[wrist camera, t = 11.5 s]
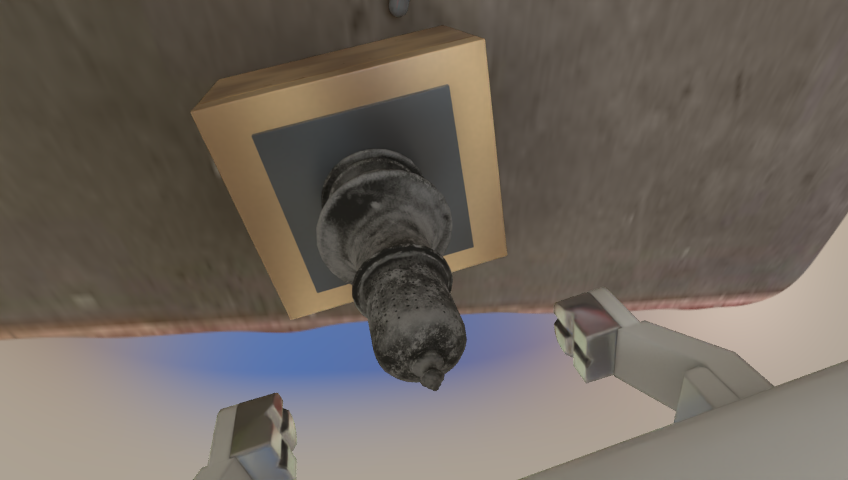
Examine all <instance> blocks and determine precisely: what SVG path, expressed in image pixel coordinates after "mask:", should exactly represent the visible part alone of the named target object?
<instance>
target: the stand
mask: <svg viewBox="0 0 848 480" xmlns="http://www.w3.org/2000/svg"><path fill="white" fill-rule="evenodd" d="M191 115H192V117H193V119H194V121H195V123H196V125H197V127H198V129H199V132H200V134H201V136H202V138H203V140H204V142H205V144H206V146H207V148H208V150H209V152H210V154H211V156H212V158H213V160H214V163H215V165H216V167H217V169H218V171H219V173H220V175H221V177H222V179H223V181H224V183H225V185H226V187H227V189H228V191H229V193H230V196H231V198H232V200H233V202H234V204H235V206H236V208H237V210H238V212H239V214H240V216H241V218H242V220H243V222H244V224H245V226H246V229H247V231H248V233H249V235H250V237H251V239H252V241H253V243H254V245H255V247H256V249H257V251H258V253H259V255H260V257H261V260H262V262H263V264H264V266H265V268H266V270H267V272H268V274H269V276H270V278H271V280H272V282H273V284H274V286H275V288H276V290H277V293H278V295H279V297H280V299H281V301H282V303H283V305H284V307H285V309H286V311H287V313H288V315H289V317H290V319H291V320H293V319H297V318H300V317H303V316H307V315H310V314H313V313H317V312H320V311H323V310H327V309H330V308H334V307H337V306H340V305H344V304H347V303H350V302H354V300H353V297H352V285H351V284H348V283H346V282H344V281H342V280H341V279H340V278H338V277H337V276H336V275H335V274H333V273H332V272H331V271H330V270H329V268H328V267H327V266H326V264H325V263H324V262H323V260H322V258H321V255H320V252H319V250H318V247H317V234H316V227H317V223H318V220H319V216H320V213H321V210H322V207H321V193H322V189H323V185H324V182H325V180H326V178H327V176H328V175H329V173H330V171H331V170H332V168H334V167H335V166H336V165H337V164H338V163H339V162H340V161H341V160H342V159H344V158H345V157H347V156H349V155H351V154H353V153H355V152H358V151H362V150H366V149H370V148H371V149H388V150H391V151H395V152H398V153H400V154H402V155H404V156H405V157H407V158H408V159H410V160H411V161H412V162H413V163H414V164H415V165H416V166H417V167H418V168H419V169H420V171H421V173H422V175H423V177H424V179H426V180H428V181H429V182H431V183H432V184H433V185H434V186H435V187H436V188H437V189H438V190H439V191H440V192H441V193H442V194H443V196H444V198H445V200H446V202H447V204H448V206H449V208H450V210H451V217H452V224H453V227H452V233H451V240H450V243H449V245H448V247H447V250H446V252H445V254H444V256H443V257H444V258H445V260H446V261H447V263H448V265H449V267H450V269H451V272H454V271H457V270H461V269H464V268H467V267H471V266H474V265H477V264H481V263H484V262H487V261H491V260H494V259H497V258H501V257H504V256H507V248H506V239H505V229H504V219H503V210H502V200H501V190H500V181H499V171H498V161H497V151H496V142H495V132H494V122H493V113H492V103H491V93H490V84H489V74H488V64H487V55H486V45H485V39H483V38H480V37H477V36H474V35H471V34H468V33H465V32H462V31H459V30H456V29H453V28H450V27H447V26H444V25H441V26H437V27H433V28H429V29H424V30H420V31H416V32H412V33H408V34H404V35H400V36H396V37H392V38H387V39H383V40H379V41H375V42H371V43H367V44H363V45H359V46H354V47H350V48H346V49H342V50H338V51H334V52H330V53H326V54H322V55H317V56H313V57H309V58H305V59H301V60H297V61H293V62H289V63H285V64H280V65H276V66H272V67H268V68H264V69H260V70H256V71H252V72H248V73H243V74H239V75H235V76H231V77H227V78H223V79H219V80H218V81H217V82H216V83H215V84H214V86H213V87H212V88H211V89H210V90H209V91H208V92H207V94H206V95H205V96H204V97H203V98H202V99H201V101H200V102H199V103H198V104H197V105H196V106H195V107H194V108H193V110H192V111H191Z"/></svg>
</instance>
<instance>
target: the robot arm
mask: <svg viewBox="0 0 848 480" xmlns="http://www.w3.org/2000/svg"><path fill="white" fill-rule="evenodd" d="M554 314H555V315H556V316H557V318H558V319H557V320H556V322H555V323H554V327H555V334H556V337H557V341H558V343H559V345H560V347H561V349H562V350H563V351H564V353H565V354H566V355H568V356H570V357H573V358H574V360H573V363H574V367H575V368H576V370H577V371H578V373H579V374H580V376H581V377H582V378H583V380H584V381H585V382H586V383H589V382H592V381H595V380H599V379H602V378H605V377H608V376H611V375H614V376H615V377H616V378H618V379H620V380H622V381H624V382H625V383H627V384H629V385H631V386H632V387H634V388H636V389H638V390H639V391H641V392H643V393H645V394H647V395H648V396H650V397H652V398H654V399H655V400H657V401H659V402H661V403H662V404H664V405H666V406H668V407H670V408H671V409H673V410H675V411H676V414H675V419H674V423H673V424H670V425H668V426H665V427H662V428H659V429H656V430H654V431H651V432H648V433H645V434H643V435H640V436H637V437H634V438H632V439H629V440H626V441H623V442H620V443H618V444H615V445H612V446H609V447H607V448H604V449H601V450H598V451H596V452H593V453H590V454H587V455H585V456H582V457H579V458H576V459H574V460H571V461H568V462H566V463H563V464H560V465H557V466H554V467H551V468H549V469H546V470H543V471H541V472H538V473H535V474H532V475H530V476H527V477H524V478H521V479H518V480H848V360H847V361H844V362H841V363H838V364H836V365H833V366H830V367H828V368H825V369H822V370H819V371H817V372H814V373H811V374H808V375H805V376H803V377H800V378H797V379H794V380H792V381H789V382H786V383H783V384H781V385H778V386H773V385H772V384H771V383H770V382H769V381H768V380H767V379H765V378H764V377H763V376H762V375H761V374H760V373H758V372H757V371H756V370H755V369H754V368H753V367H751V366H750V365H749V364H748V363H747V362H746V361H745V360H743V359H742V358H741V357H740V356H739V355H738V354H736V353H735V352H733V351H730V350H727V349H724V348H721V347H719V346H716V345H713V344H710V343H707V342H704V341H701V340H699V339H696V338H693V337H690V336H687V335H685V334H682V333H679V332H676V331H673V330H670V329H668V328H665V327H662V326H659V325H656V324H653V323H650V322H648V321H642V322H640V321H639V320H638V319H637V318H636V317H635V316H634V315H633V314H632V313H631V312H630V311H629V310H628V309H627V308H626V307H625V306H624V305H623V304H622V303H621V302H620V301H619V300H618V299H617V298H616V297H615V296H614V295H613V294H612V293H611V292H610V291H609V290H608V289H607V288H604V287H601V288H598V289H595V290H592V291H589V292H587V293H582V294H579V295H576V296H573V297H570V298H567V299H564V300H561V301H558V302H555V304H554ZM296 438H297V437H296V429H295V423H294V421H293V418H292V416H291V414H290V412H289V410H286V409H284V408H283V400H282V398H281V397H280V395H279V394H278V393H273V394H270V395H267V396H263V397H260V398H256V399H253V400H249V401H246V402H243V403H240V404H237V405H234V406H230V407H227V408H223V409H221V410H220V411H219V413H218V415H217V419H216V425H215V430H214V434H213V440H212V445H211V450H210V455H209V460H208V466H206V467H203V468H202V469H201V470H200V471H199V472H198V474H197V475H196V476H195V478H194V479H193V480H296V458H295V456H294V455H293V453H292V451H293V449H294V448H295V446H296V444H297V439H296Z"/></svg>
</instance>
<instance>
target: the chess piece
mask: <svg viewBox="0 0 848 480" xmlns="http://www.w3.org/2000/svg"><path fill="white" fill-rule="evenodd" d="M321 207H322V210H321V213H320V216H319V220H318V223H317V227H316V234H317V247H318V250H319V252H320V255H321V258H322V260H323V262H324V263H325V264H326V266H327V267H328V268H329V270H330V271H331V272H332V273H333V274H335V275H336V276H337V277H338V278H340V279H341V280H342V281H344V282H346V283H348V284H351V285H352V297H353V300H354V303H355V306H356V307H357V309H358V310H359V311H360V313H361V314H362V315H363V316H365V317H366V318H368V323H369V328H370V334H371V339H372V345H373V350H374V353H375V356H376V359H377V361H378V363H379V365H380V366H381V367H382V368H383V370H384V371H385V372H387V373H389V374H390V375H391V376H393V377H395V378H397V379H400V380H403V381H406V382H420V383H421V384H422V386H425V387H427V388H428V389H432V390H433V391H437V390H438V389H439V386H440V385H441V382H442V381H443V380H444V374H446V373H447V372H448V371H450V370H451V369H452V368H453V367H454V366H455V365H456V364H457V363H458V361H459V359H460V358H461V356H462V354H463V352H464V350H465V346H466V340H467V339H466V332H465V325H464V323H463V321H462V318H461V316H460V314H459V312H458V310H457V307H456V305H455V303H454V301H453V299H452V297H451V294H450V292H451V288H452V281H453V279H452V273H451V269H450V267H449V265H448V263H447V261H446V260H445V258H444V257H443V256H444V254H445V252H446V250H447V247H448V245H449V243H450V240H451V233H452V227H453V224H452V217H451V210H450V208H449V206H448V204H447V202H446V200H445V198H444V196H443V194H442V193H441V192H440V191H439V190H438V189H437V188H436V187H435V186H434V185H433V184H432V183H431V182H429V181H428V180H426V179H424V177H423V175H422V173H421V171H420V169H419V168H418V167H417V166H416V165H415V164H414V163H413V162H412V161H411V160H410V159H408V158H407V157H405V156H404V155H402V154H400V153H398V152H395V151H391V150H388V149H371V148H370V149H366V150H362V151H358V152H355V153H353V154H351V155H349V156H347V157H345V158H344V159H342V160H341V161H340V162H339V163H338V164H337V165H336V166H335V167H334V168H332V170H331V171H330V173H329V175H328V176H327V178H326V180H325V182H324V185H323V189H322V193H321Z"/></svg>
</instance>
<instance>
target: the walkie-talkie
mask: <svg viewBox="0 0 848 480" xmlns="http://www.w3.org/2000/svg"><path fill="white" fill-rule="evenodd" d="M408 6H409V0H390V1H389V10H390V12H391V13H392V15H394V16H396V17H402V16H403V15H405V14H406V13H407V11H408Z"/></svg>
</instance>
